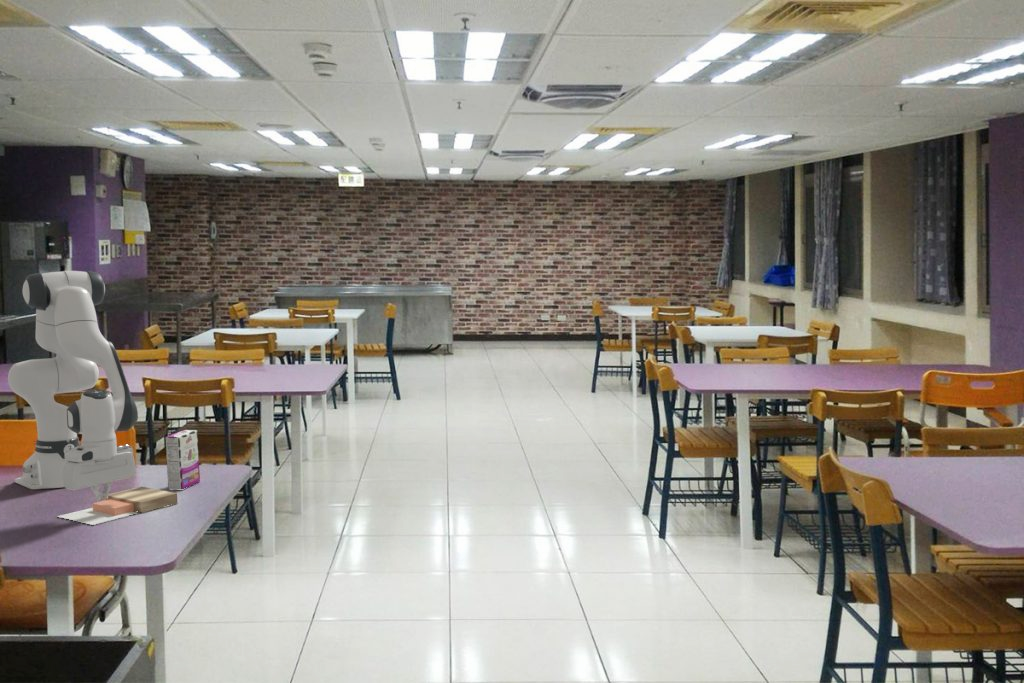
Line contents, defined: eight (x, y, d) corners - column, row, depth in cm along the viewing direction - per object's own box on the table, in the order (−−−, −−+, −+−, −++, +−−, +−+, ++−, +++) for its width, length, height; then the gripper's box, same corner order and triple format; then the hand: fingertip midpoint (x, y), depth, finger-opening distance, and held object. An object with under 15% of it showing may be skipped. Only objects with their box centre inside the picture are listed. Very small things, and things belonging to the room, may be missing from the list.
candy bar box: (185, 481, 323) (183, 429, 321) (200, 482, 322) (198, 430, 320) (166, 490, 312) (164, 436, 310) (182, 491, 311) (179, 436, 309)
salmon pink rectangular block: (92, 510, 288) (92, 503, 288) (111, 505, 293) (111, 498, 292) (115, 515, 282) (114, 508, 282) (134, 510, 287) (133, 503, 287)
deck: (105, 505, 294) (105, 495, 294) (141, 496, 304) (141, 486, 304) (141, 513, 285) (140, 502, 285) (177, 503, 295) (177, 493, 295)
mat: (56, 517, 282) (56, 516, 282) (102, 506, 294) (102, 505, 294) (92, 525, 273) (92, 524, 273) (138, 514, 285) (138, 512, 285)
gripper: (125, 442, 293) (127, 490, 295) (58, 455, 276) (61, 506, 278) (139, 444, 290) (141, 493, 291) (72, 457, 273) (75, 509, 274)
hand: (101, 499), depth 284 cm, fingers closed
